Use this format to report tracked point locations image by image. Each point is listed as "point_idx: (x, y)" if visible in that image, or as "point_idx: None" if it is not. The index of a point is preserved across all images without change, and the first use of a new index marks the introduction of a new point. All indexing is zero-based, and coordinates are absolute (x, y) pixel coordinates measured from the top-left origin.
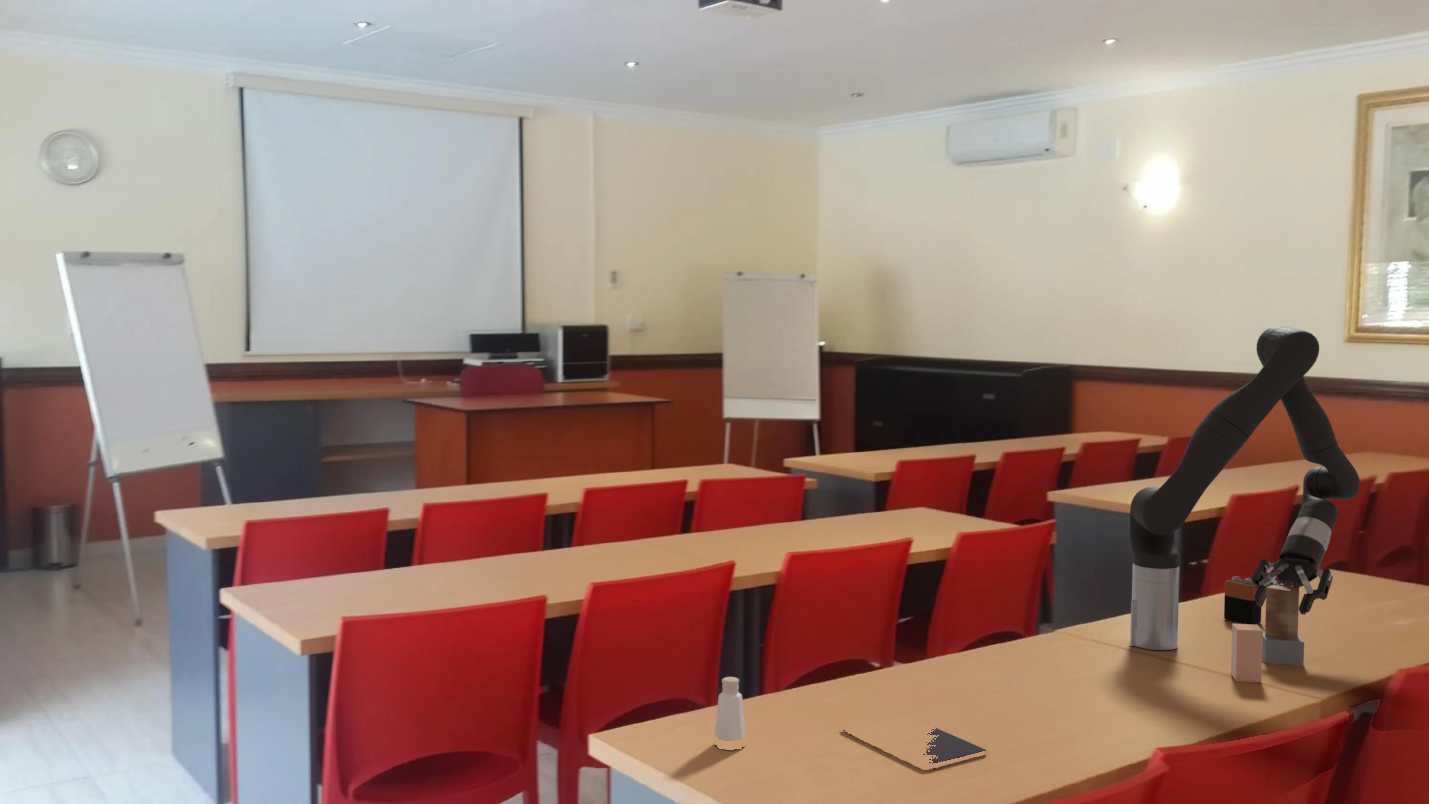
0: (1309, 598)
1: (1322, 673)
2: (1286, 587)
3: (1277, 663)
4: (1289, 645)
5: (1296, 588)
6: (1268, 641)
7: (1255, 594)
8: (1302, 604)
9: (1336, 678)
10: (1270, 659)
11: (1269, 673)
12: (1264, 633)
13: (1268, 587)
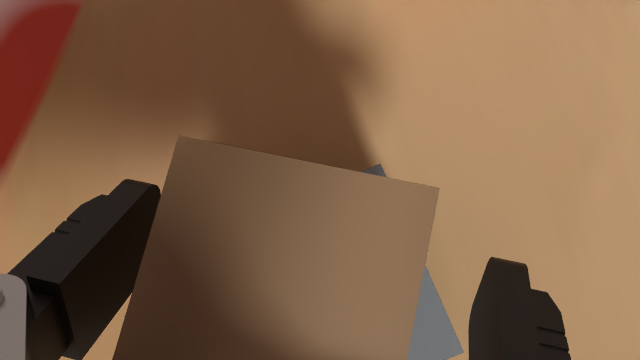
0: (37, 263)
1: (158, 178)
2: (232, 313)
3: None
4: None
5: (123, 325)
6: (367, 170)
7: (564, 335)
8: (116, 200)
9: (107, 141)
10: None
11: (331, 55)
12: (420, 302)
13: (414, 183)
